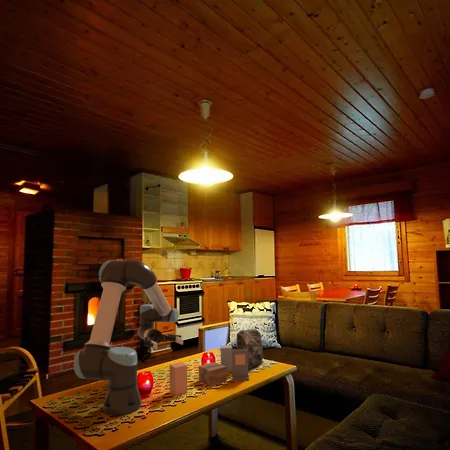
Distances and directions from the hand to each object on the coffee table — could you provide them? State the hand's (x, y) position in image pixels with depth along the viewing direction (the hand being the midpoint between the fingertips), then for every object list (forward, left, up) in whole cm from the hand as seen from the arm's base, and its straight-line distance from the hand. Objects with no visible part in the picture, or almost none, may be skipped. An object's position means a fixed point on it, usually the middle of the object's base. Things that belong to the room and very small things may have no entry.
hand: (169, 344), depth 168 cm
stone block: (+43, +25, -20) cm, 53 cm away
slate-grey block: (+29, +21, -19) cm, 41 cm away
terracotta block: (+5, -9, -19) cm, 22 cm away
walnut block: (+21, +4, -20) cm, 29 cm away
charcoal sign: (+35, +4, -19) cm, 40 cm away
